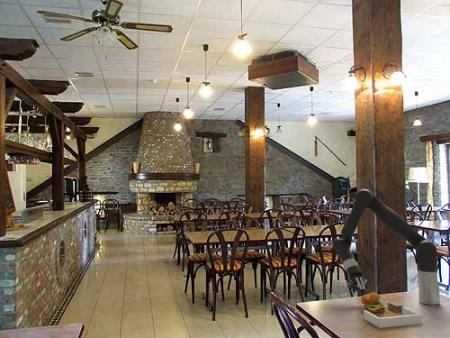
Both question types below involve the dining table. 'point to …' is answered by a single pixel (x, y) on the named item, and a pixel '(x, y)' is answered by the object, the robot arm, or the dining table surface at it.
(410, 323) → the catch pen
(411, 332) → the dining table surface
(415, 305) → the dining table surface
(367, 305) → the cheeseburger
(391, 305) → the cardboard carton
